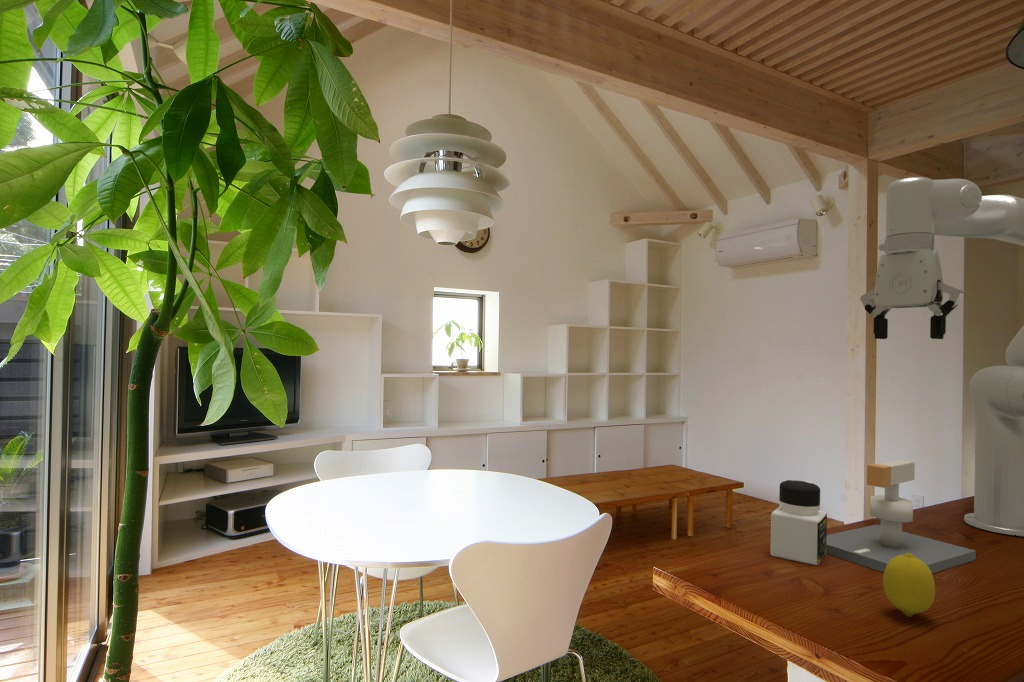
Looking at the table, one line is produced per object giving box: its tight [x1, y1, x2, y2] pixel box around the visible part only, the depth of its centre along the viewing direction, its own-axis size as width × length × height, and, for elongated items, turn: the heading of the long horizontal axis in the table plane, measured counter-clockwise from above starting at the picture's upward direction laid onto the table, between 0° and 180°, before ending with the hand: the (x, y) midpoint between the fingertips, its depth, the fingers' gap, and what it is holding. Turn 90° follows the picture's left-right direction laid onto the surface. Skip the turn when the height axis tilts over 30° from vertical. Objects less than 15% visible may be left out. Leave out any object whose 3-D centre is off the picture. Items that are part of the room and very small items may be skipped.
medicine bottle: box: [770, 479, 828, 566], centre depth 99 cm, size 7×7×12 cm
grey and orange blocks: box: [866, 459, 916, 523], centre depth 100 cm, size 11×6×9 cm, turn 125°
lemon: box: [882, 553, 936, 617], centre depth 76 cm, size 6×6×8 cm
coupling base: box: [826, 519, 977, 574], centre depth 100 cm, size 20×16×6 cm
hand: (907, 338), depth 111 cm, fingers open, 9 cm apart
